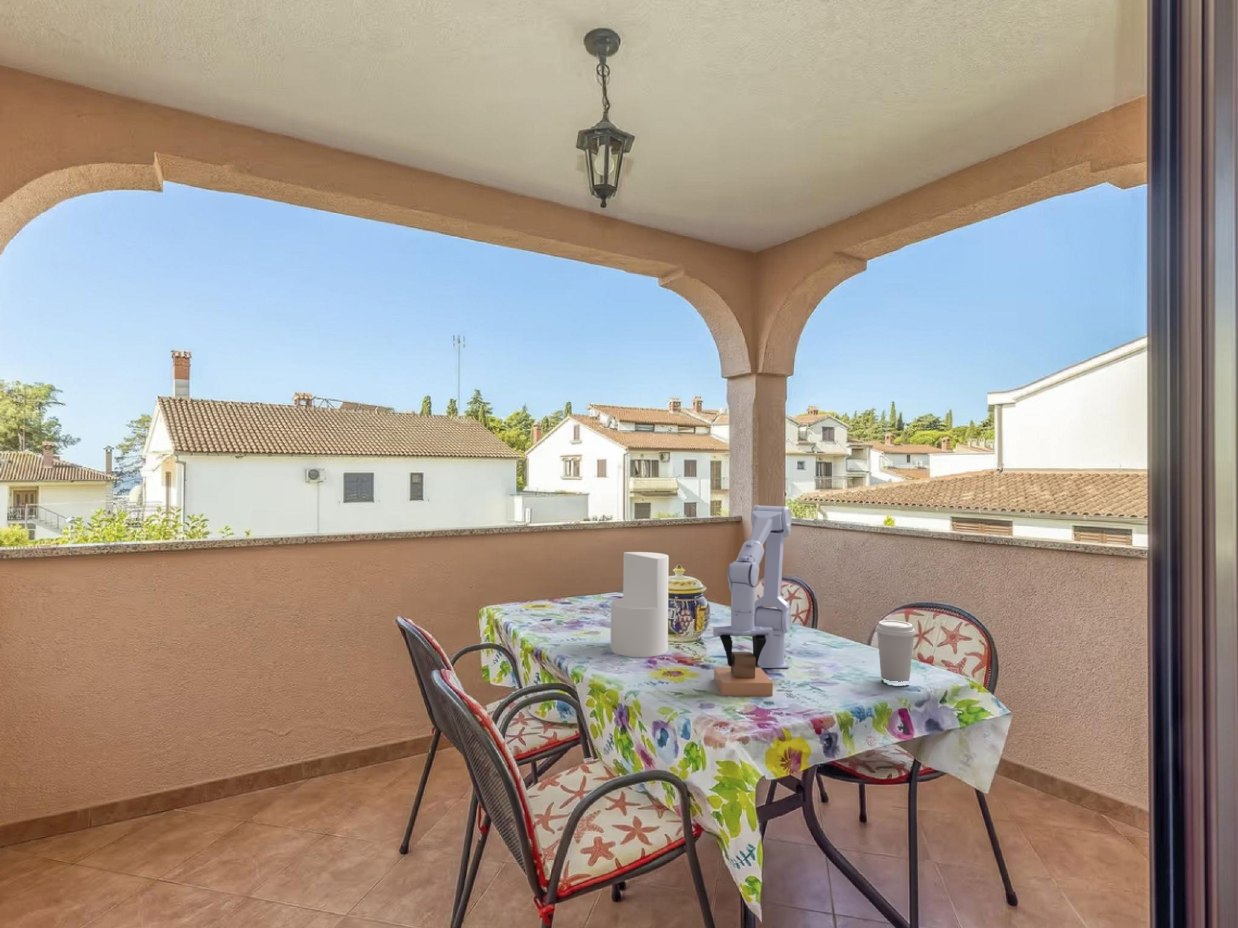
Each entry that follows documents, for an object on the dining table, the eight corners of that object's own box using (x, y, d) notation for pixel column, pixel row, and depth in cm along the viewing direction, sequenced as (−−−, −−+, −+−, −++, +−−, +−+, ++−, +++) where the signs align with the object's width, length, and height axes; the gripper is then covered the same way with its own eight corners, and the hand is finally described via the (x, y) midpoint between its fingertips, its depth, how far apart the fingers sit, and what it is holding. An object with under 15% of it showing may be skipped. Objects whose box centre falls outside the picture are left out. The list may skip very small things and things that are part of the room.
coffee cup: (868, 682, 164) (868, 623, 164) (884, 674, 170) (884, 617, 170) (906, 691, 157) (907, 630, 157) (921, 682, 163) (921, 623, 164)
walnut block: (730, 671, 161) (731, 651, 161) (750, 671, 161) (751, 652, 161) (734, 677, 156) (735, 657, 156) (755, 678, 156) (755, 657, 156)
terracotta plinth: (714, 679, 165) (714, 667, 165) (760, 679, 165) (760, 667, 165) (722, 695, 153) (722, 682, 153) (772, 695, 153) (772, 682, 153)
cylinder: (645, 638, 205) (645, 550, 205) (679, 651, 190) (680, 556, 191) (599, 646, 195) (600, 554, 195) (632, 660, 181) (633, 561, 181)
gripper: (716, 613, 155) (715, 669, 155) (776, 613, 155) (775, 670, 155) (711, 607, 162) (711, 661, 162) (768, 607, 162) (768, 661, 162)
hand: (742, 665), depth 159 cm, fingers open, 6 cm apart
